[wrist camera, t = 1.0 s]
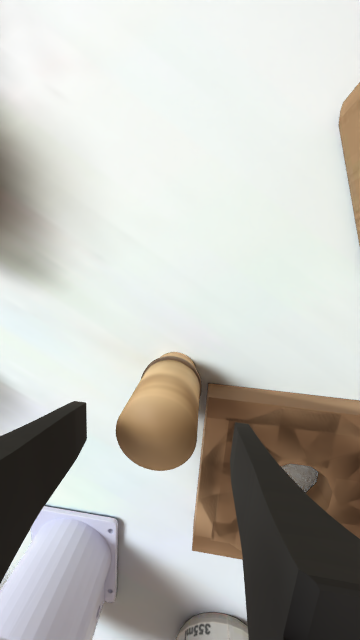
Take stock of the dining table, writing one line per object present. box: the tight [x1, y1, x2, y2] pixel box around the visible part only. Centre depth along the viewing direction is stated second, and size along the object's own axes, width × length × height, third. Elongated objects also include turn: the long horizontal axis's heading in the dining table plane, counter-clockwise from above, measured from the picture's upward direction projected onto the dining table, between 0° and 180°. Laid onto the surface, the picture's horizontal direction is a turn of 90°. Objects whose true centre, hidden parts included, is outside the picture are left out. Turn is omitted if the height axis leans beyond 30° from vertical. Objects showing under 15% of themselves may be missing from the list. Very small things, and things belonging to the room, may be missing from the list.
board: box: [192, 383, 360, 560], centre depth 18 cm, size 13×13×2 cm
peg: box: [116, 352, 202, 471], centre depth 15 cm, size 4×4×7 cm
